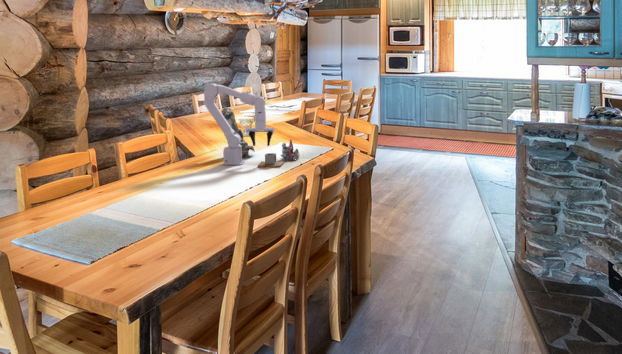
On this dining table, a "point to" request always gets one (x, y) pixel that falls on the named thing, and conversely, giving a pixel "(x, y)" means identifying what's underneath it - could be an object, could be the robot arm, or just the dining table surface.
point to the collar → (270, 159)
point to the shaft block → (278, 164)
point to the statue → (236, 129)
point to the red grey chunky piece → (289, 152)
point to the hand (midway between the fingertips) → (261, 145)
